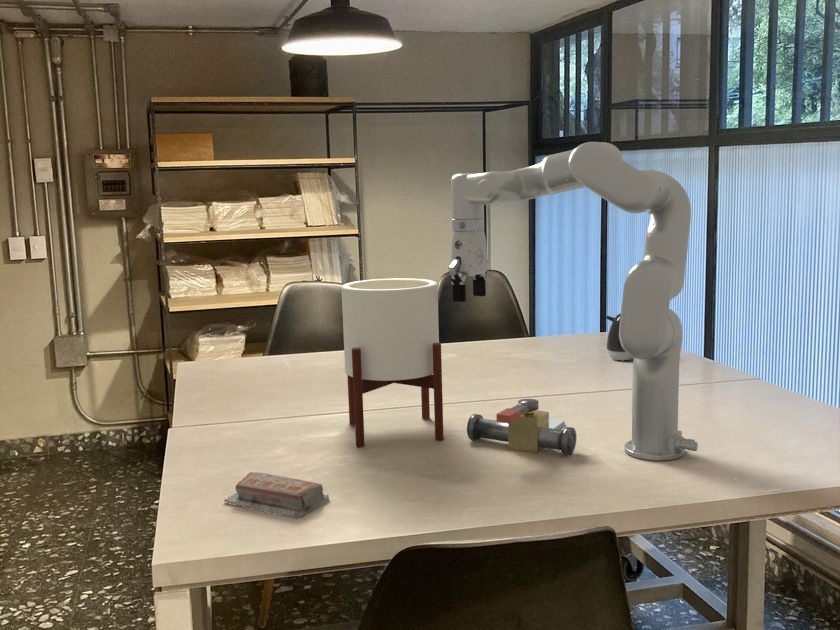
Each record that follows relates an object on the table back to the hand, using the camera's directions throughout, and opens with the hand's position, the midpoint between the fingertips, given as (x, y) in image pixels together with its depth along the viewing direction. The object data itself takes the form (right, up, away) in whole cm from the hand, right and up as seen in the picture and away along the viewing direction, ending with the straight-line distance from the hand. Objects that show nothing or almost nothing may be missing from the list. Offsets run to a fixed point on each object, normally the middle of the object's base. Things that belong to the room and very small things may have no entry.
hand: (469, 298), depth 203 cm
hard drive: (+17, -32, 0) cm, 36 cm away
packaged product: (-39, -40, -41) cm, 69 cm away
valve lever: (+9, -25, -20) cm, 33 cm away
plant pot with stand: (-18, -32, +2) cm, 37 cm away
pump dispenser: (+54, -19, +73) cm, 93 cm away
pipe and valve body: (+11, -33, -13) cm, 37 cm away
